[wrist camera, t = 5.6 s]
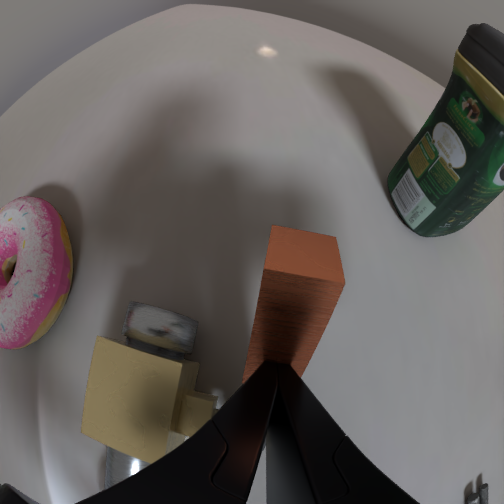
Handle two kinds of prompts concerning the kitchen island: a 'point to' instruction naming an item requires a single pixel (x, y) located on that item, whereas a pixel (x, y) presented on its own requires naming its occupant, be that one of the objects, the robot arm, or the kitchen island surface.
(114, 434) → the pipe valve
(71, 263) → the donut
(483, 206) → the coffee jar
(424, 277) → the kitchen island surface
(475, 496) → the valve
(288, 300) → the chisel
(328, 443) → the robot arm
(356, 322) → the kitchen island surface
